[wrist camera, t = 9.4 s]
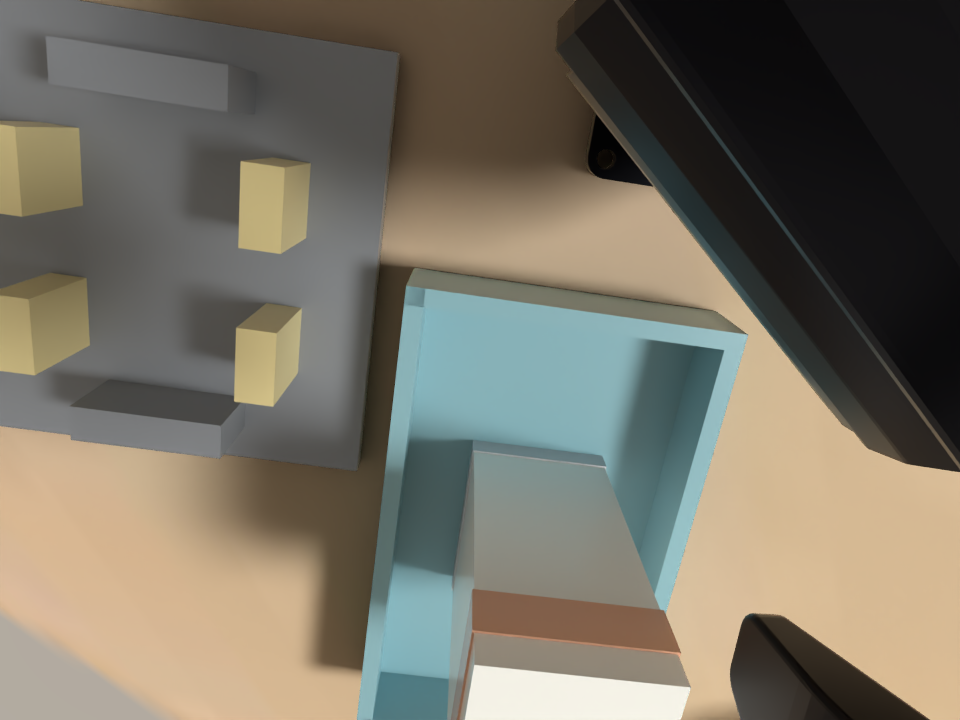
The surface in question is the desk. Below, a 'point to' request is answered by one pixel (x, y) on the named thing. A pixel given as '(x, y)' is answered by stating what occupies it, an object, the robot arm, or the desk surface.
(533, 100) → the desk surface
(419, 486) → the tray
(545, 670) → the block
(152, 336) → the fuse block
